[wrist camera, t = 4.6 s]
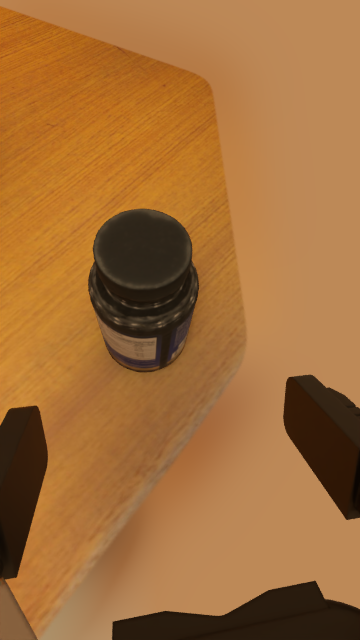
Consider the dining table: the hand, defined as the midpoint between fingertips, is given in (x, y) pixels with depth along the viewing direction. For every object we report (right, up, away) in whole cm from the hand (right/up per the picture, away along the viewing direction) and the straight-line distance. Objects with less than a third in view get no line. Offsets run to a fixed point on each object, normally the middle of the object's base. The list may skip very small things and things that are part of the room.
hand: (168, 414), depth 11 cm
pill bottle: (-2, +2, +15) cm, 15 cm away
